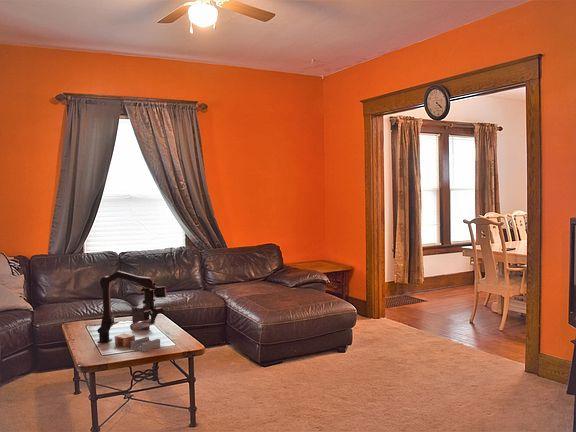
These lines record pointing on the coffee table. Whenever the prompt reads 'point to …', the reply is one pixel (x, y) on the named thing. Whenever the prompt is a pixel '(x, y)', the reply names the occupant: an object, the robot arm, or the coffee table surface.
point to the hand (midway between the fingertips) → (149, 323)
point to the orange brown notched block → (124, 340)
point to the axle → (141, 324)
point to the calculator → (138, 318)
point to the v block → (145, 344)
